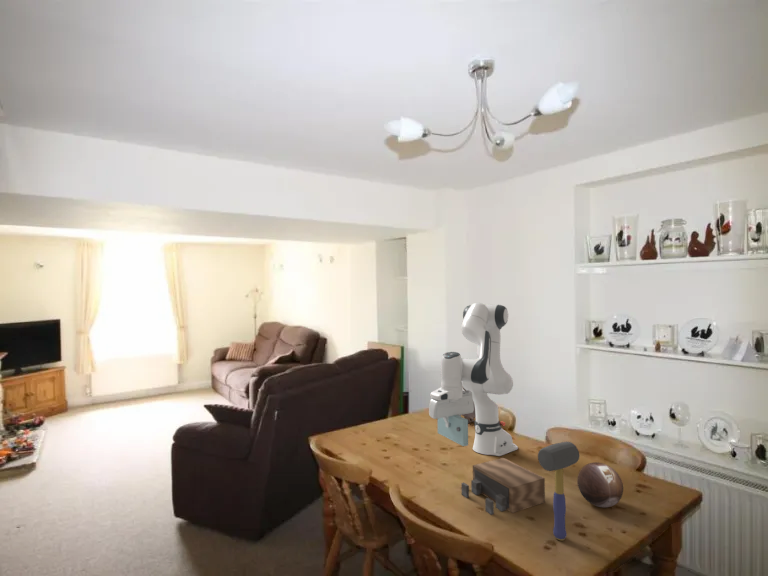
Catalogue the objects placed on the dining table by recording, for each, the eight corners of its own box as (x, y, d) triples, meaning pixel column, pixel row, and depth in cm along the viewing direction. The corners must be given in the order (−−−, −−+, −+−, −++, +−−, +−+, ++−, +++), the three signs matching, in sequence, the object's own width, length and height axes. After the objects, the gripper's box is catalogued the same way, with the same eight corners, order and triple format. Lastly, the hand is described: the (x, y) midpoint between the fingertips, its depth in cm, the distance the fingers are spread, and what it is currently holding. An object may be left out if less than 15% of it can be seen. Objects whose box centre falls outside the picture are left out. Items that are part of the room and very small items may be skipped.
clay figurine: (472, 418, 266) (471, 377, 266) (483, 422, 257) (482, 380, 257) (455, 421, 260) (454, 379, 260) (465, 425, 251) (465, 382, 251)
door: (442, 432, 186) (442, 408, 186) (468, 445, 170) (467, 419, 170) (436, 433, 185) (435, 409, 185) (461, 446, 169) (461, 420, 169)
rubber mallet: (556, 550, 132) (555, 451, 132) (536, 538, 138) (535, 444, 138) (583, 538, 138) (581, 444, 138) (562, 527, 144) (561, 437, 144)
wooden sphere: (603, 519, 149) (602, 475, 149) (568, 500, 163) (568, 460, 163) (633, 509, 155) (632, 467, 155) (597, 492, 169) (596, 453, 169)
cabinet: (503, 479, 181) (503, 457, 181) (544, 502, 161) (544, 477, 161) (457, 492, 170) (457, 469, 170) (495, 518, 151) (495, 492, 151)
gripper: (467, 388, 185) (467, 420, 185) (426, 393, 176) (427, 427, 176) (476, 391, 180) (477, 424, 180) (435, 397, 171) (435, 432, 170)
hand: (452, 426), depth 178 cm, fingers closed on door, 2 cm apart
